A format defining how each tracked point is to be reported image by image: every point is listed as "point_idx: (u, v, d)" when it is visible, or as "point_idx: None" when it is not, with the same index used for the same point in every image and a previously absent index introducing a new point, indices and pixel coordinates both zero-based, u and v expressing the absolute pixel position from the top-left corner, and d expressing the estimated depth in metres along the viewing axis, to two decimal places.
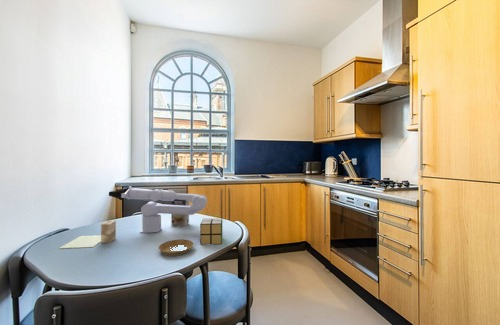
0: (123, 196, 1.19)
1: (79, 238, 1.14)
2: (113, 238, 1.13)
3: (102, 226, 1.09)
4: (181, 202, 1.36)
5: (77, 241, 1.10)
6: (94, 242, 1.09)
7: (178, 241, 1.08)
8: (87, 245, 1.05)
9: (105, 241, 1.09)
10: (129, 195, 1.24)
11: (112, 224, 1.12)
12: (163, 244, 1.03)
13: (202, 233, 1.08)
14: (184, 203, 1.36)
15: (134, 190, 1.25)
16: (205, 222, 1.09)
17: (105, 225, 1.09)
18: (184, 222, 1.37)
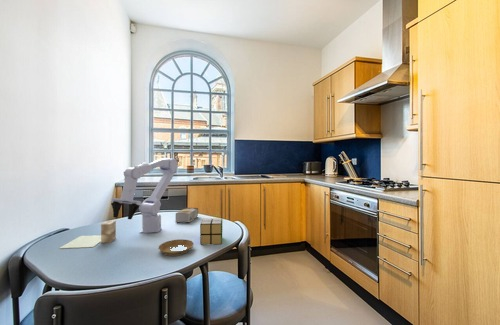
0: (140, 202, 1.14)
1: (79, 238, 1.14)
2: (113, 238, 1.13)
3: (102, 226, 1.09)
4: (193, 208, 1.57)
5: (77, 241, 1.10)
6: (94, 242, 1.09)
7: (178, 241, 1.08)
8: (87, 245, 1.05)
9: (105, 241, 1.09)
10: (132, 199, 1.15)
11: (112, 224, 1.12)
12: (163, 244, 1.03)
13: (202, 233, 1.08)
14: (196, 208, 1.56)
15: (128, 194, 1.13)
16: (205, 222, 1.09)
17: (105, 225, 1.09)
18: (190, 212, 1.45)
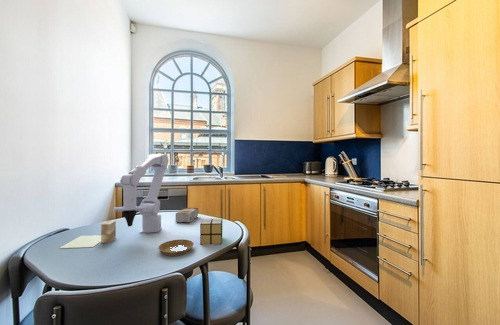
0: (145, 208, 1.15)
1: (79, 238, 1.14)
2: (113, 238, 1.13)
3: (102, 226, 1.09)
4: (193, 208, 1.57)
5: (77, 241, 1.10)
6: (94, 242, 1.09)
7: (178, 241, 1.08)
8: (87, 245, 1.05)
9: (105, 241, 1.09)
10: None
11: (112, 224, 1.12)
12: (163, 244, 1.03)
13: (202, 233, 1.08)
14: (196, 208, 1.56)
15: (131, 202, 1.11)
16: (205, 222, 1.10)
17: (105, 225, 1.09)
18: (190, 212, 1.45)
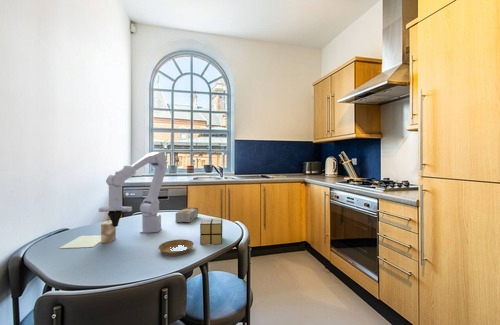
0: (131, 208, 1.14)
1: (79, 238, 1.14)
2: (113, 238, 1.13)
3: (102, 226, 1.09)
4: (193, 208, 1.57)
5: (77, 241, 1.10)
6: (94, 242, 1.09)
7: (178, 241, 1.08)
8: (87, 245, 1.05)
9: (105, 241, 1.09)
10: (122, 206, 1.13)
11: (112, 224, 1.12)
12: (163, 244, 1.03)
13: (202, 233, 1.08)
14: (196, 208, 1.56)
15: (117, 202, 1.10)
16: (205, 222, 1.09)
17: (105, 225, 1.09)
18: (190, 212, 1.45)
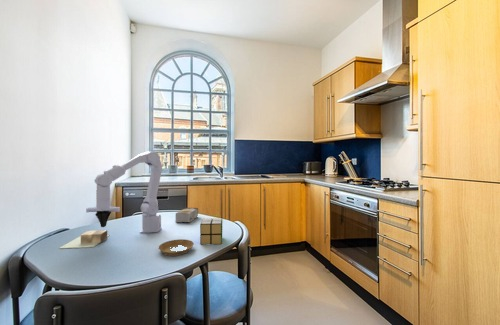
0: (119, 208, 1.13)
1: (79, 238, 1.14)
2: (102, 231, 1.12)
3: (83, 241, 1.08)
4: (193, 208, 1.57)
5: (77, 241, 1.10)
6: None
7: (178, 241, 1.08)
8: (87, 245, 1.05)
9: (99, 238, 1.09)
10: None
11: (85, 233, 1.11)
12: (163, 244, 1.03)
13: (202, 233, 1.08)
14: (196, 208, 1.56)
15: (104, 203, 1.10)
16: (205, 222, 1.09)
17: (82, 239, 1.08)
18: (190, 212, 1.45)
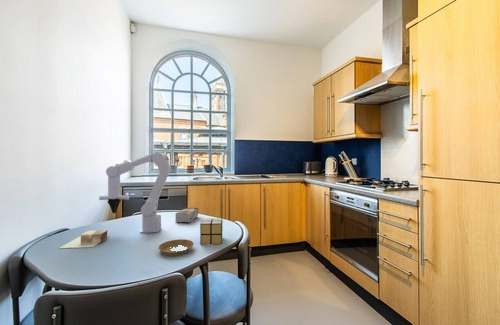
0: (128, 197, 1.27)
1: (79, 238, 1.14)
2: (102, 231, 1.12)
3: (83, 241, 1.08)
4: (193, 208, 1.57)
5: (77, 241, 1.10)
6: None
7: (178, 241, 1.08)
8: (87, 245, 1.05)
9: (99, 238, 1.09)
10: None
11: (85, 233, 1.11)
12: (163, 244, 1.03)
13: (202, 233, 1.08)
14: (196, 208, 1.56)
15: (115, 191, 1.24)
16: (205, 222, 1.09)
17: (82, 239, 1.08)
18: (190, 212, 1.45)
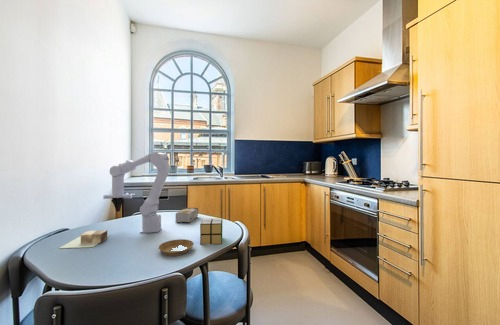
0: (131, 196, 1.31)
1: (79, 238, 1.14)
2: (102, 231, 1.12)
3: (83, 241, 1.08)
4: (193, 208, 1.57)
5: (77, 241, 1.10)
6: None
7: (178, 241, 1.08)
8: (87, 245, 1.05)
9: (99, 238, 1.09)
10: (123, 193, 1.30)
11: (85, 233, 1.11)
12: (163, 244, 1.03)
13: (202, 233, 1.08)
14: (196, 208, 1.56)
15: (119, 190, 1.27)
16: (205, 222, 1.10)
17: (82, 239, 1.08)
18: (190, 212, 1.45)
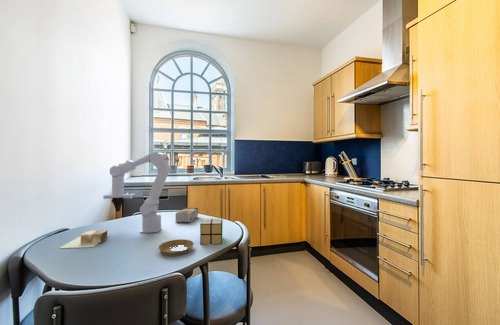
0: (131, 196, 1.31)
1: (79, 238, 1.14)
2: (102, 231, 1.12)
3: (83, 241, 1.08)
4: (193, 208, 1.57)
5: (77, 241, 1.10)
6: None
7: (178, 241, 1.08)
8: (87, 245, 1.05)
9: (99, 238, 1.09)
10: (123, 193, 1.30)
11: (85, 233, 1.11)
12: (163, 244, 1.03)
13: (202, 233, 1.08)
14: (196, 208, 1.56)
15: (119, 190, 1.27)
16: (205, 222, 1.10)
17: (82, 239, 1.08)
18: (190, 212, 1.45)
